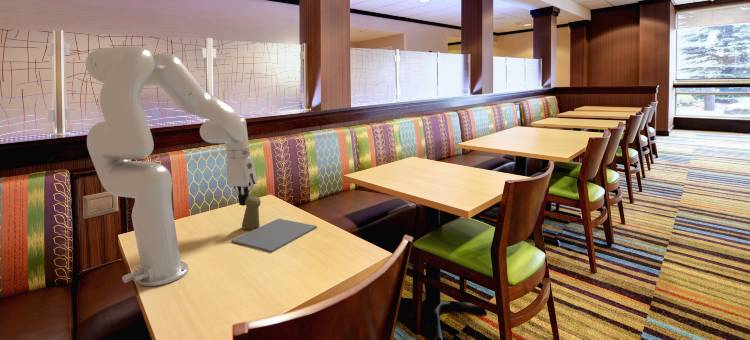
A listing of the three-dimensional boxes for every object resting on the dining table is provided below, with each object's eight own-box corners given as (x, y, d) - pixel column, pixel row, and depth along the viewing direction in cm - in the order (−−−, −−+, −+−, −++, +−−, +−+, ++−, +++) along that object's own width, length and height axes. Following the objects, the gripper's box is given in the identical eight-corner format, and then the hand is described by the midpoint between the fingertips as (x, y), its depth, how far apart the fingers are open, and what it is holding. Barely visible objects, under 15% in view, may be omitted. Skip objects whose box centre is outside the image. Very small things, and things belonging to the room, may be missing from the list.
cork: (248, 231, 138) (251, 203, 134) (238, 224, 141) (240, 196, 137) (263, 226, 142) (266, 199, 139) (252, 219, 146) (255, 192, 142)
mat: (271, 252, 121) (271, 250, 121) (231, 241, 130) (231, 240, 130) (317, 227, 139) (317, 226, 139) (278, 219, 148) (278, 218, 148)
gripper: (262, 153, 136) (267, 204, 141) (231, 150, 143) (237, 198, 148) (245, 157, 130) (251, 210, 134) (214, 154, 137) (221, 205, 142)
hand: (244, 204), depth 141 cm, fingers closed
